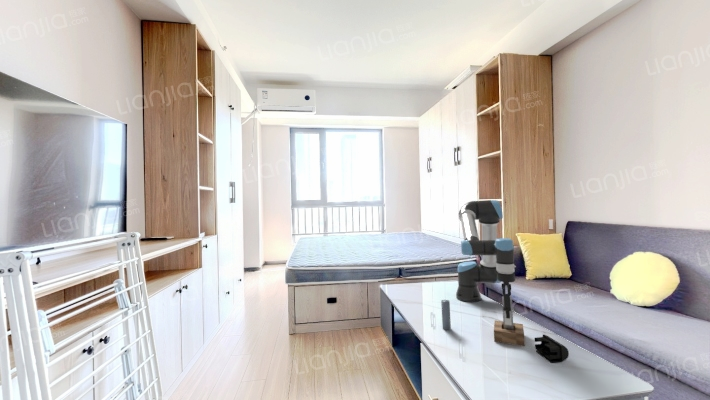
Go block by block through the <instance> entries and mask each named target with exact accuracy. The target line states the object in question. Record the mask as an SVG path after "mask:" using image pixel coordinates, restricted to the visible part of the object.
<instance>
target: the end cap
mask: <svg viewBox="0 0 710 400" xmlns="http://www.w3.org/2000/svg"><path fill="white" fill-rule="evenodd" d="M534 342H535V344H534V348H535V352H536V354H538V355H539V356H541V357H542V358H544V359H545V360H546V361H548V362H549V363H550V364H558V363H562V362H564V361H566V360H567V359H568V357H569V355H570V354H569V349H568V348H567V346H565V345H563V344H562V343H561V342H558V341H557V340H556V339H554V338H552V337H550V336H549V335H548V334H542V336H537V337H534ZM537 342H538V344H537Z"/></svg>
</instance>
